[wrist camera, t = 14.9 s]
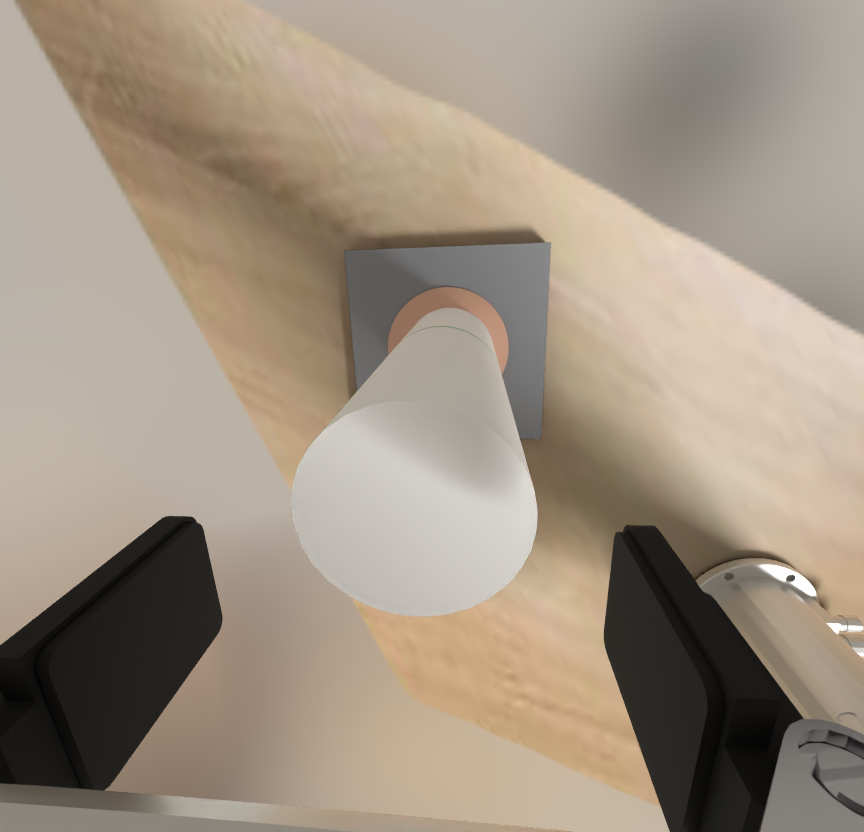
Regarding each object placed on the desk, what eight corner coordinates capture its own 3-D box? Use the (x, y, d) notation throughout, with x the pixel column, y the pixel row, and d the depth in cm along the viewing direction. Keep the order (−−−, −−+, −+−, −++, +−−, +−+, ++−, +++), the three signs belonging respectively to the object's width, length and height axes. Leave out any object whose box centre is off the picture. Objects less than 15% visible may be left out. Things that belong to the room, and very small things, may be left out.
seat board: (547, 243, 35) (551, 242, 33) (538, 432, 40) (541, 439, 38) (349, 251, 36) (343, 250, 34) (365, 433, 41) (360, 440, 39)
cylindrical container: (404, 389, 38) (296, 602, 14) (408, 304, 35) (285, 389, 12) (488, 396, 37) (520, 629, 14) (497, 310, 35) (556, 412, 11)
